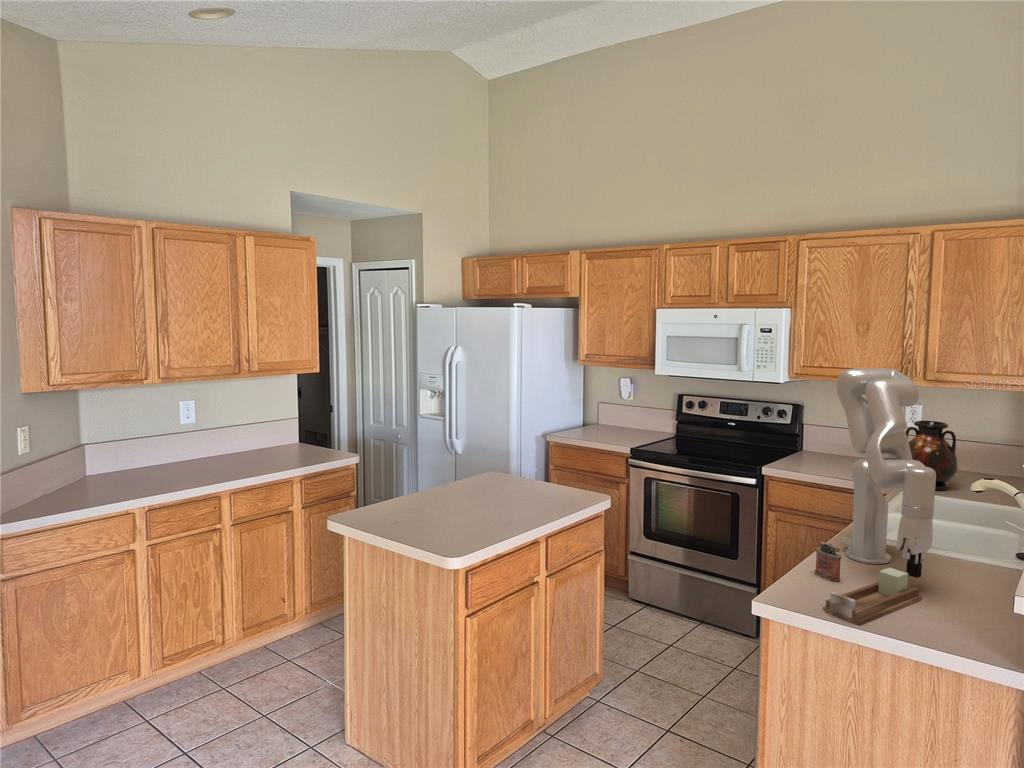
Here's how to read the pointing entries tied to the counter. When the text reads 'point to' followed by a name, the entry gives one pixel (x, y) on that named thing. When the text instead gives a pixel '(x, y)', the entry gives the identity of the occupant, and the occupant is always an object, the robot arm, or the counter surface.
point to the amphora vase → (934, 450)
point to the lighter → (828, 562)
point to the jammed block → (892, 581)
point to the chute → (868, 603)
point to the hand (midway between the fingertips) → (913, 575)
